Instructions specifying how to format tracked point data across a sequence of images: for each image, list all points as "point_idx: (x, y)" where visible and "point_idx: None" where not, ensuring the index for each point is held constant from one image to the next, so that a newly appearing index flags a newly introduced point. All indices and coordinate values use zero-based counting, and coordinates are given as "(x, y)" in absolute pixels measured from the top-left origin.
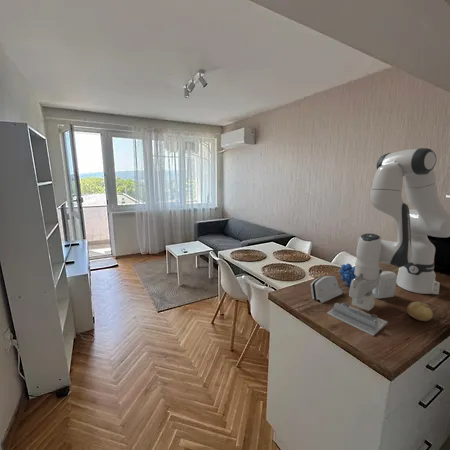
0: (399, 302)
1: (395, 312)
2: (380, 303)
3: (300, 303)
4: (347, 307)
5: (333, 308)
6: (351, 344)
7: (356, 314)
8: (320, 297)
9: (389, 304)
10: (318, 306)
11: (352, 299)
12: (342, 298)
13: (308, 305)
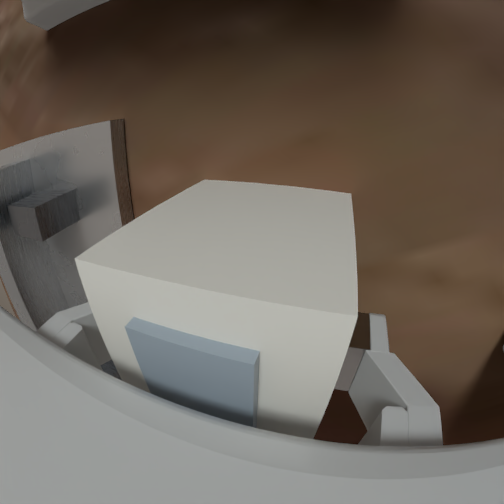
0: (488, 419)
1: (341, 433)
2: (430, 371)
3: (4, 8)
4: (5, 261)
5: (23, 143)
6: (9, 298)
7: (20, 317)
8: (29, 3)
9: (441, 404)
10: (17, 61)
11: (168, 203)
12: (252, 32)
13: (5, 35)
